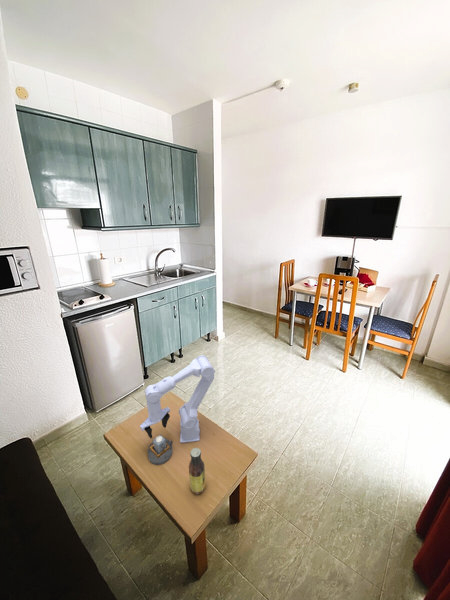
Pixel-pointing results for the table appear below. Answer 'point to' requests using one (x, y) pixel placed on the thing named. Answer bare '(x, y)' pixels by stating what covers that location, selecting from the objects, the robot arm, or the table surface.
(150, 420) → the robot arm
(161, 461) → the grey disc square socket
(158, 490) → the table surface
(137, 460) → the table surface
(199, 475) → the sauce bottle
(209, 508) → the table surface
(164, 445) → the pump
